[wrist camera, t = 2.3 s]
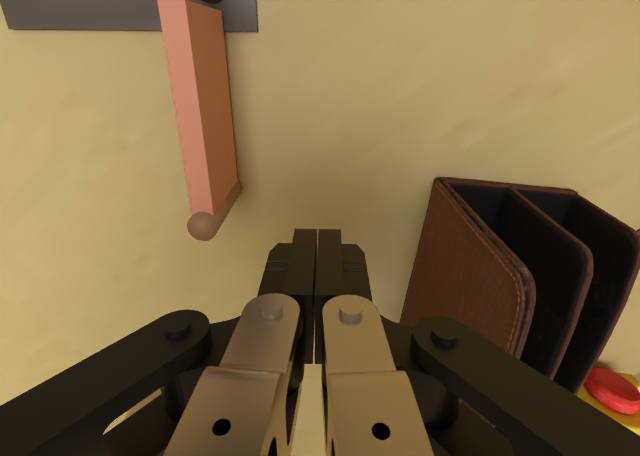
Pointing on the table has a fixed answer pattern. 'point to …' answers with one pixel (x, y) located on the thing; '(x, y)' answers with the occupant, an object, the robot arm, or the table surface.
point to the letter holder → (525, 272)
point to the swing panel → (201, 110)
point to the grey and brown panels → (115, 14)
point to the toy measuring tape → (614, 396)
